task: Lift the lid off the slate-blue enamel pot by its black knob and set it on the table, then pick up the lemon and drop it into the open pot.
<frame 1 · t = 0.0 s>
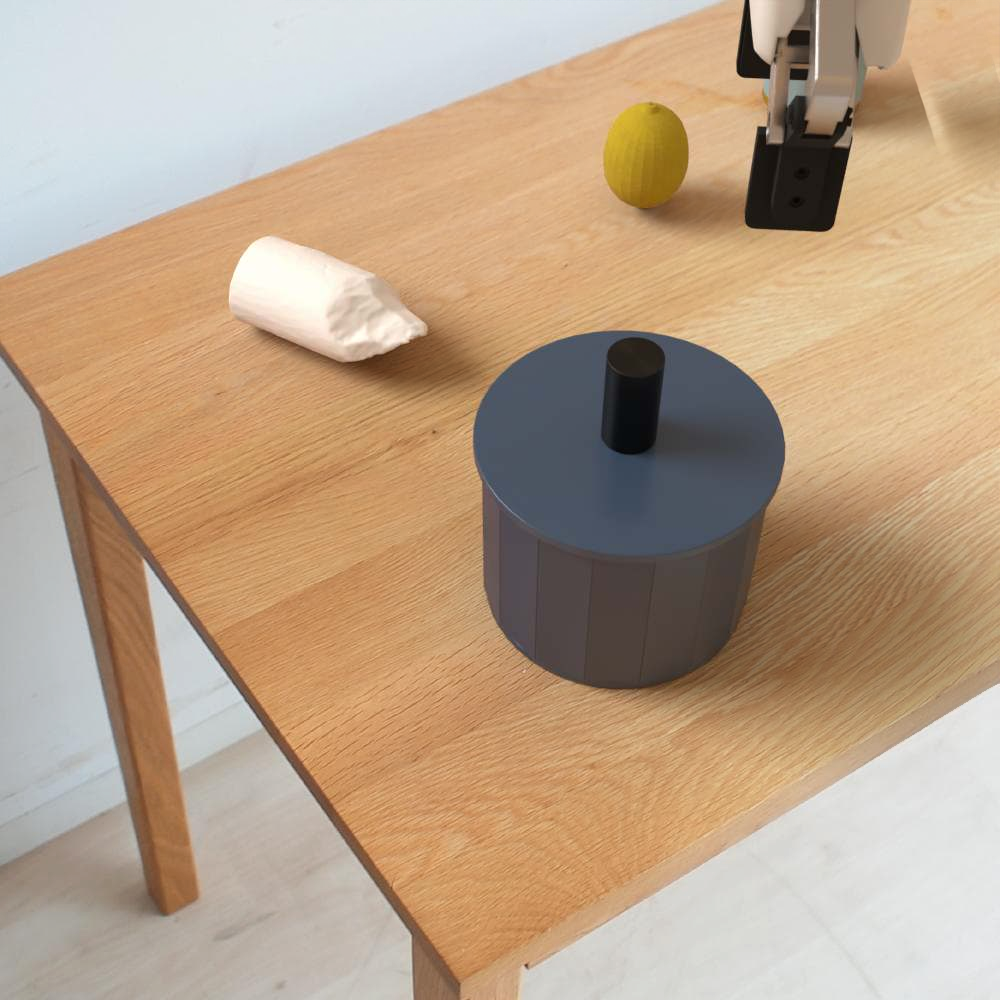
hand: (780, 146, 56), 27 cm above the table, tool pointing down, fingers open, 9 cm apart
lemon: (641, 209, 97), on the table
pot: (614, 580, 76), on the table
pot lid: (627, 443, 68), point 10 cm above the table, touching pot
bottle: (808, 106, 105), on the table
broken white chalk: (342, 347, 88), on the table
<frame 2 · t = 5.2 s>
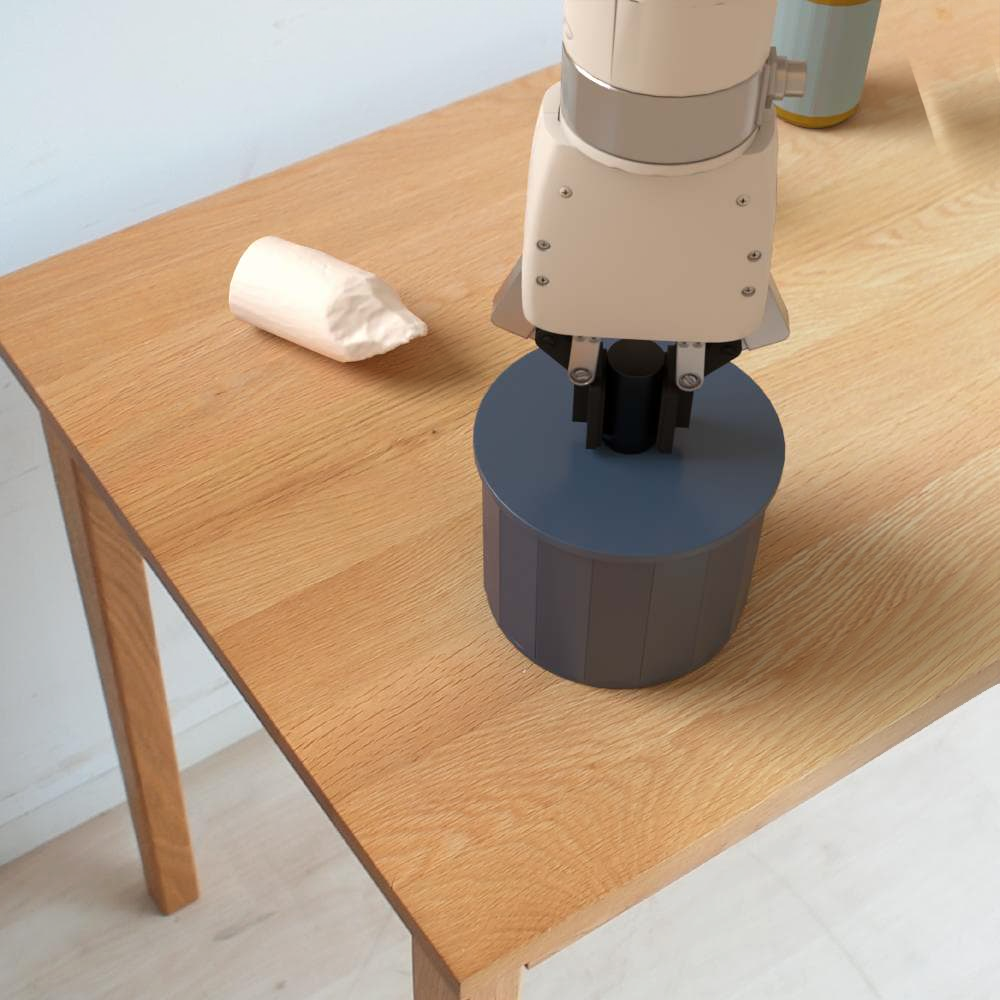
hand: (629, 427, 67), 12 cm above the table, tool pointing down, fingers closed on pot lid, 2 cm apart
pot lid: (627, 443, 68), point 11 cm above the table, touching gripper, pot
everything else where it was.
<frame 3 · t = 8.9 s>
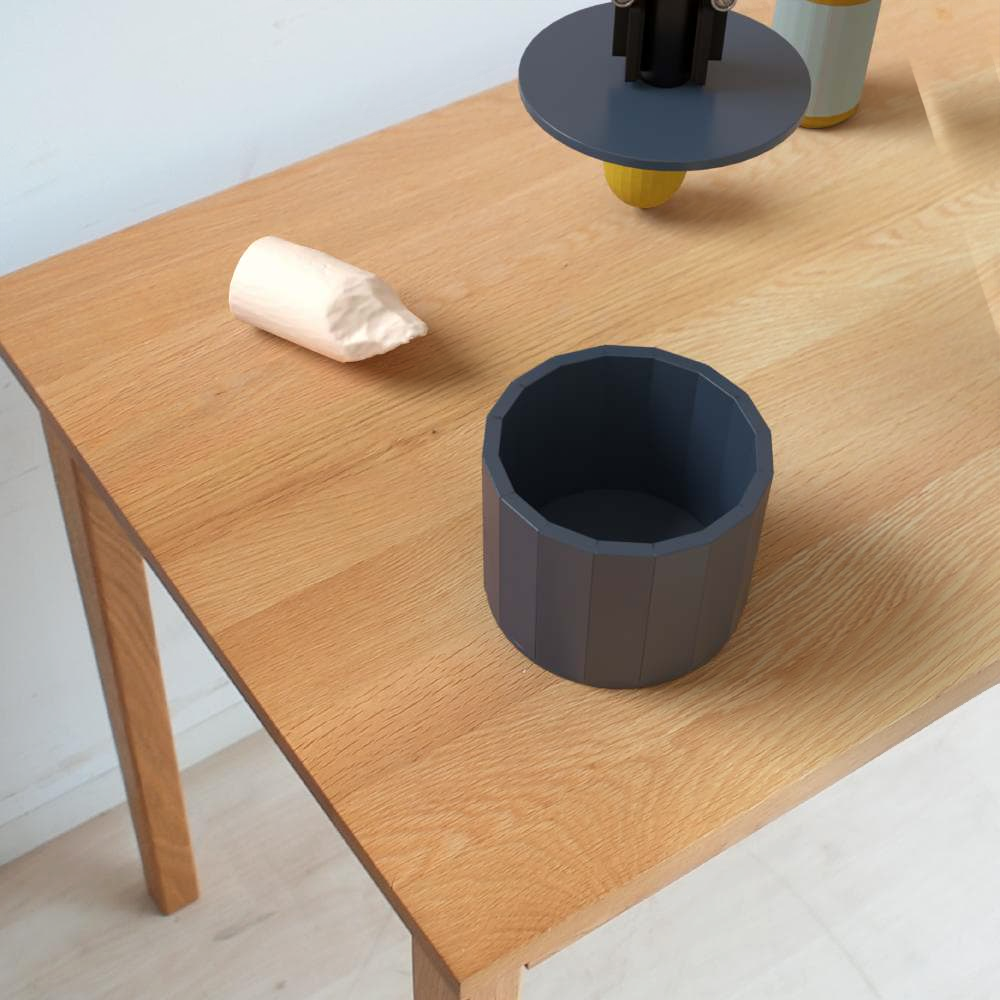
hand: (664, 65, 72), 20 cm above the table, tool pointing down, fingers closed on pot lid, 2 cm apart
pot lid: (663, 84, 73), point 19 cm above the table, touching gripper
everything else where it was.
when the fingers open (2 cm above the table, at t = 13.1 s): pot lid stays where it is, point 1 cm above the table.
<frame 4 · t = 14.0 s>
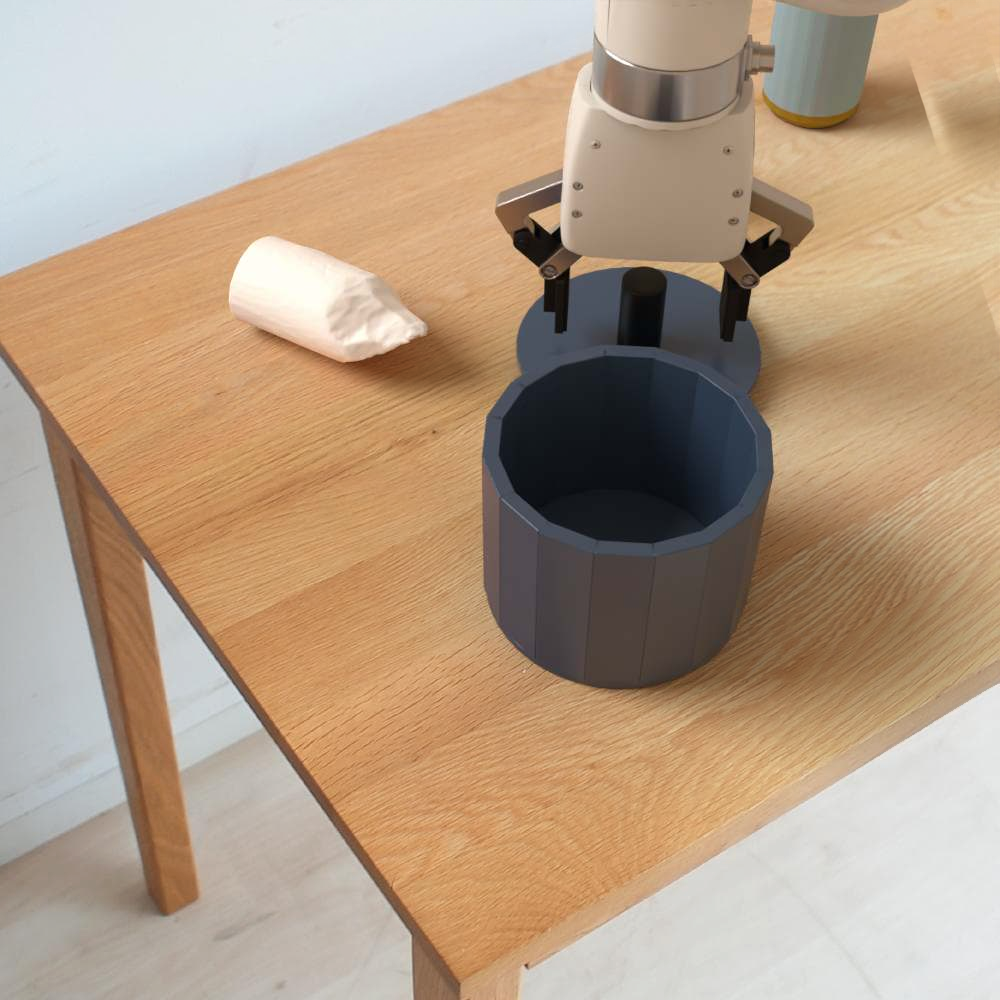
hand: (643, 321, 85), 3 cm above the table, tool pointing down, fingers open, 9 cm apart
pot lid: (637, 352, 87), point 1 cm above the table
everything else where it was.
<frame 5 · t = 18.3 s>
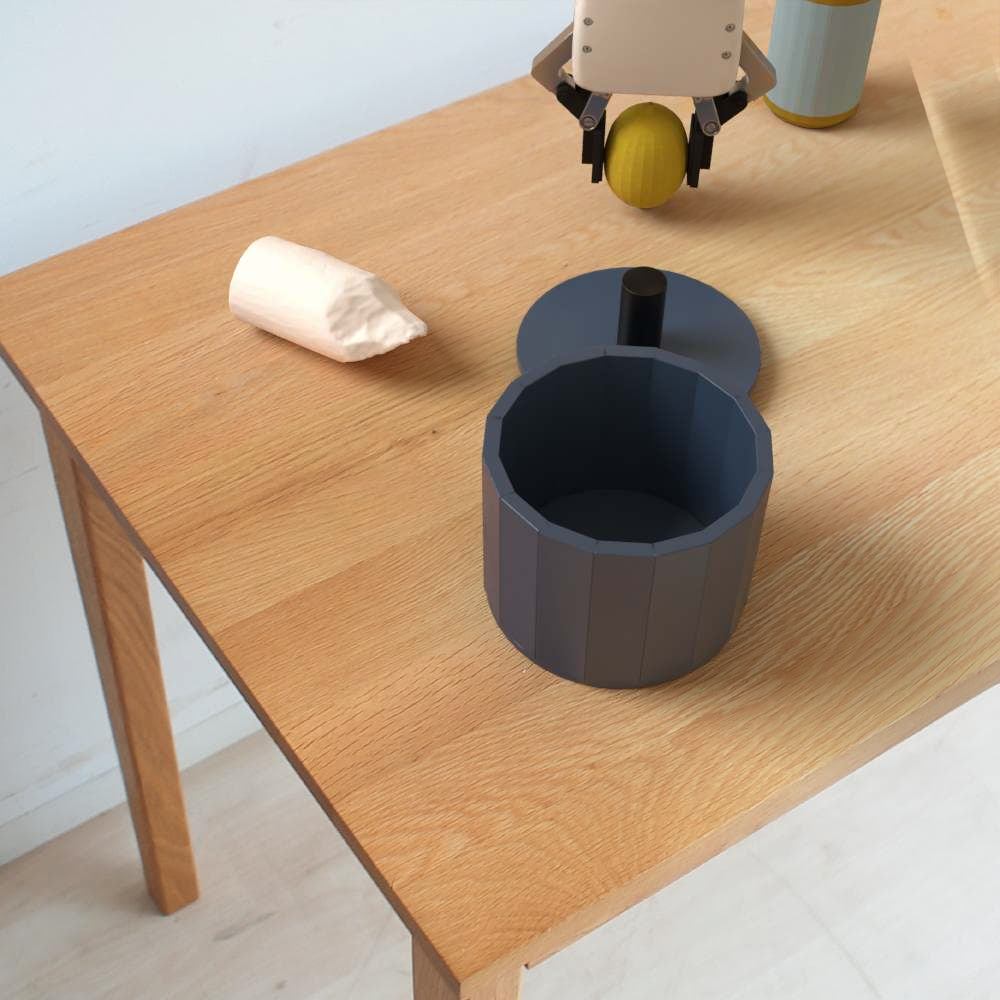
hand: (644, 170, 95), 3 cm above the table, tool pointing down, fingers closed on lemon, 5 cm apart
lemon: (641, 209, 97), on the table, touching gripper
everything else where it was.
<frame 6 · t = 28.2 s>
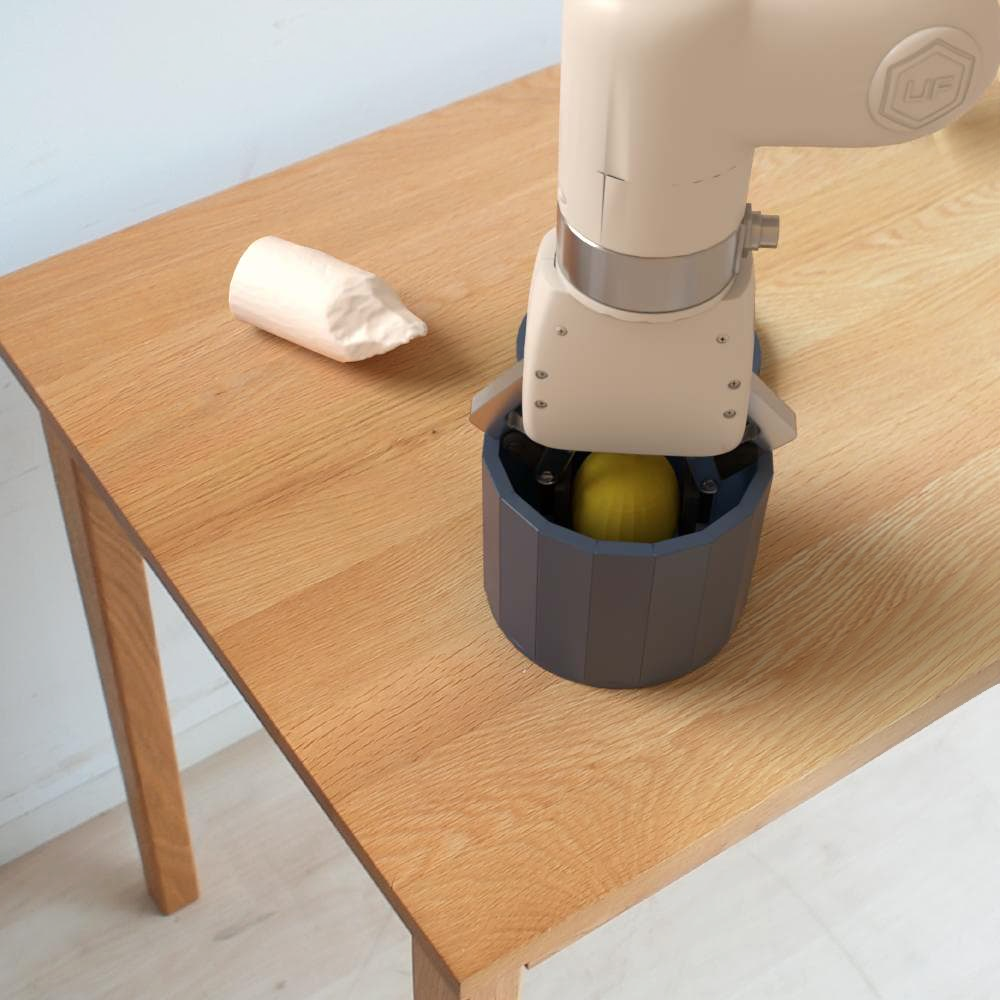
hand: (623, 519, 72), 5 cm above the table, tool pointing down, fingers closed on lemon, 5 cm apart
lemon: (620, 558, 75), point 2 cm above the table, touching gripper
everything else where it was.
when the fingers open (5 cm above the table, at t = 30.7 s): lemon stays where it is, resting on pot.
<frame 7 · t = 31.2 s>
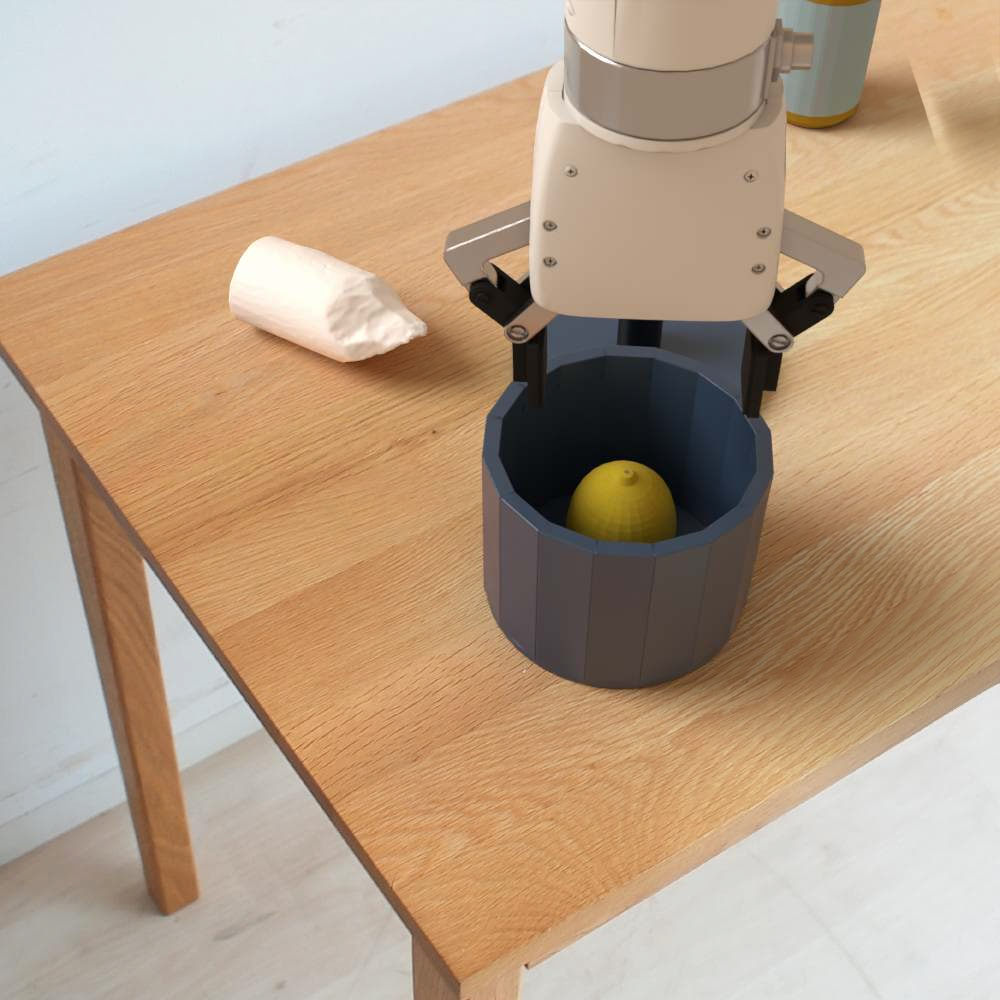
hand: (642, 392, 66), 14 cm above the table, tool pointing down, fingers open, 9 cm apart
lemon: (616, 577, 76), resting on pot
everything else where it was.
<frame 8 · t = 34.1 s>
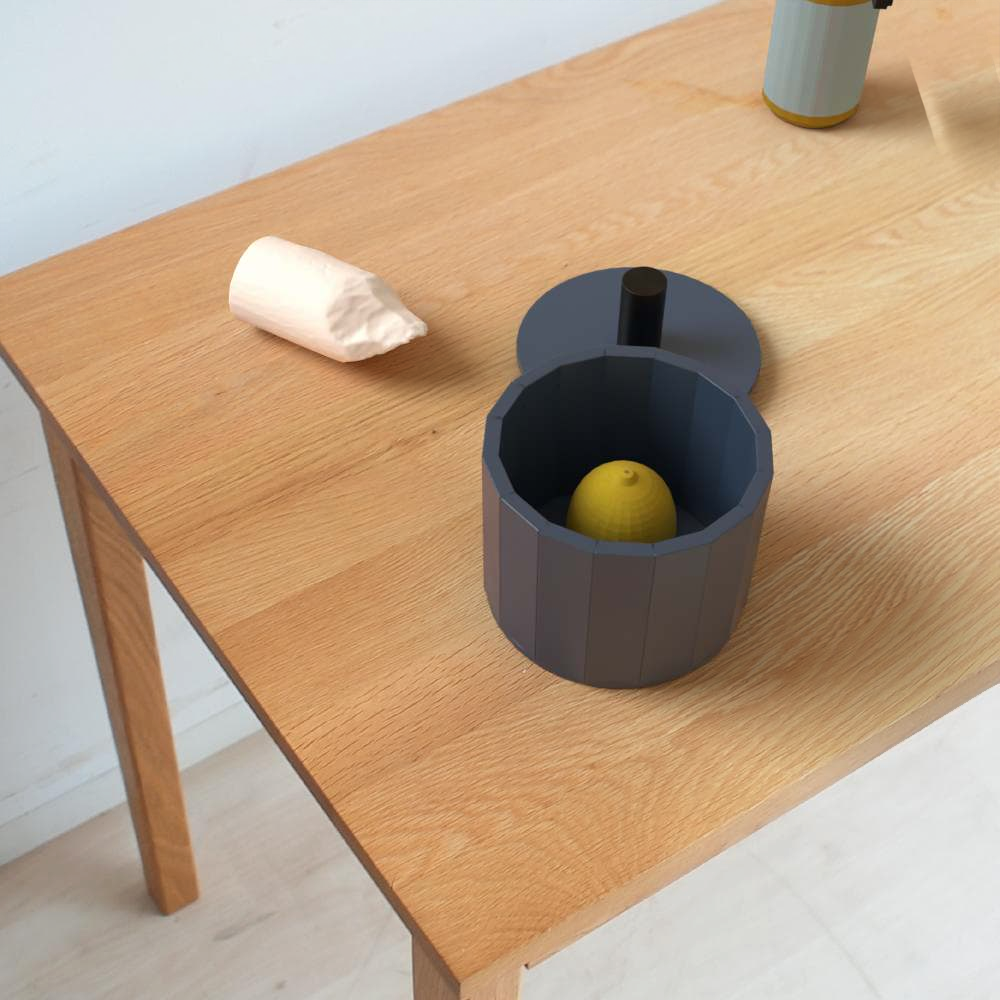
nothing on the table moved.
at the end: lemon inside the target area in the pot (0.1 cm from its centre), point 0.3 cm above the pot's base; pot lid inside the target area (0.1 cm from its centre), point 0.6 cm above the table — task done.
